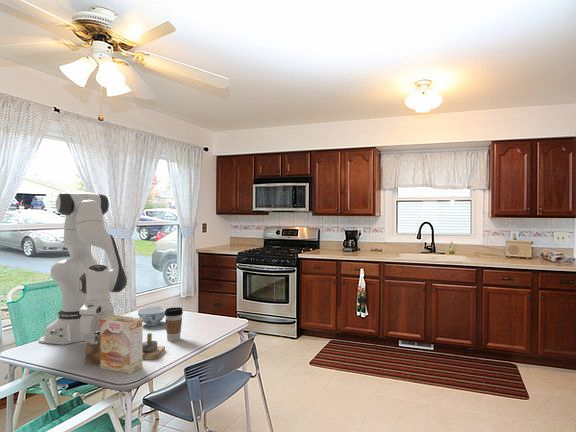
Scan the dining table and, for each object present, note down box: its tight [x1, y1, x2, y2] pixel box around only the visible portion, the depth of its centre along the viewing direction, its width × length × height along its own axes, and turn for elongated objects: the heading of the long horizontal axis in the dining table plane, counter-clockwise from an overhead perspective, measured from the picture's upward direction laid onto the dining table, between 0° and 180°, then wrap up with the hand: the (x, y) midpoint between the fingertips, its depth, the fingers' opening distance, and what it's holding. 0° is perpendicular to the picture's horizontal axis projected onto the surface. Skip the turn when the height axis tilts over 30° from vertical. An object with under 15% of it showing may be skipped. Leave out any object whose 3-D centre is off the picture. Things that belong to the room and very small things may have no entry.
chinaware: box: [137, 306, 167, 327], centre depth 209 cm, size 15×15×8 cm
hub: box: [142, 332, 166, 360], centre depth 164 cm, size 10×10×9 cm
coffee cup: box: [165, 306, 184, 343], centre depth 184 cm, size 8×8×15 cm
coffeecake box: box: [99, 314, 143, 375], centre depth 150 cm, size 15×7×20 cm, turn 69°
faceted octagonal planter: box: [89, 331, 101, 344], centre depth 156 cm, size 6×6×4 cm
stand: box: [84, 343, 101, 366], centre depth 156 cm, size 7×7×10 cm
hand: (98, 339), depth 156 cm, fingers open, 7 cm apart
